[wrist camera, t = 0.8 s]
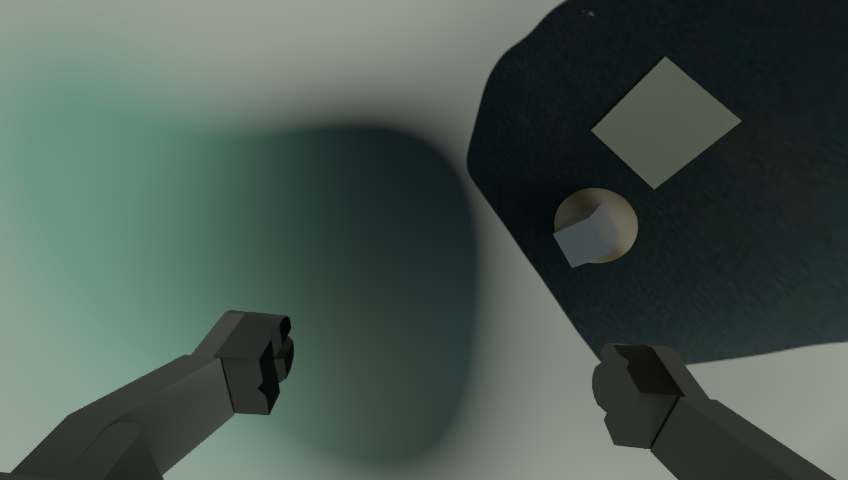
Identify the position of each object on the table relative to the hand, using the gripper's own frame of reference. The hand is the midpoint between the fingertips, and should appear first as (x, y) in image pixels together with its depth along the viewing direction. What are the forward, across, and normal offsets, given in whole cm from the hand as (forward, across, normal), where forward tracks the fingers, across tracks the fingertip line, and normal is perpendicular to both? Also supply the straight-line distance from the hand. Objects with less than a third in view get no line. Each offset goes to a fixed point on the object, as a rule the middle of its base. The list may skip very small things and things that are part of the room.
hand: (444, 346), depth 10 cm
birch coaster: (+38, -20, +13) cm, 45 cm away
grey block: (+38, -20, +13) cm, 45 cm away
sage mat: (+37, -24, 0) cm, 44 cm away
